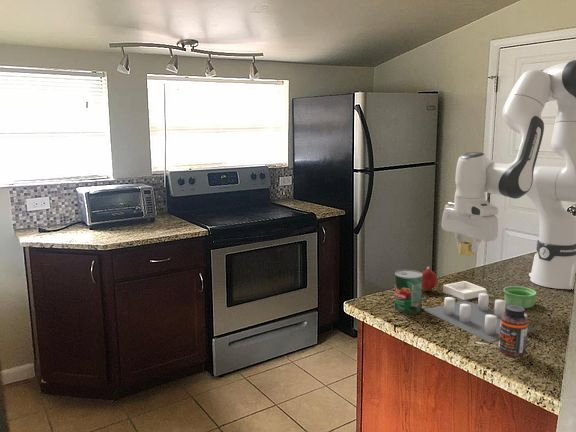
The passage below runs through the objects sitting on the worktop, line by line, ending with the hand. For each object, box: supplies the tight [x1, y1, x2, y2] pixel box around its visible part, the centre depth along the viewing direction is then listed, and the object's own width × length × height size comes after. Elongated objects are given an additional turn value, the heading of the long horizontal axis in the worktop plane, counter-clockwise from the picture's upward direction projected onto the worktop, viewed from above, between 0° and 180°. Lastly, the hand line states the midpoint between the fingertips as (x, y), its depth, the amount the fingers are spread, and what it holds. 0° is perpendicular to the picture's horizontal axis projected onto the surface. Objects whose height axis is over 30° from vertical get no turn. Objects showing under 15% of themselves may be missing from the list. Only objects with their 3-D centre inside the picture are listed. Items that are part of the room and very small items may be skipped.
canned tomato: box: [393, 269, 423, 314], centre depth 152 cm, size 8×8×11 cm
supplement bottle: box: [498, 305, 529, 358], centre depth 123 cm, size 6×6×11 cm
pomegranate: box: [421, 266, 438, 292], centre depth 167 cm, size 6×6×8 cm
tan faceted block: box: [458, 240, 475, 257], centre depth 162 cm, size 5×4×4 cm
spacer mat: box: [422, 292, 538, 343], centre depth 143 cm, size 17×25×5 cm
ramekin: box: [502, 285, 537, 309], centre depth 155 cm, size 9×9×4 cm
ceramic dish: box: [442, 280, 487, 301], centre depth 164 cm, size 9×9×2 cm
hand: (466, 249), depth 162 cm, fingers closed on tan faceted block, 4 cm apart
